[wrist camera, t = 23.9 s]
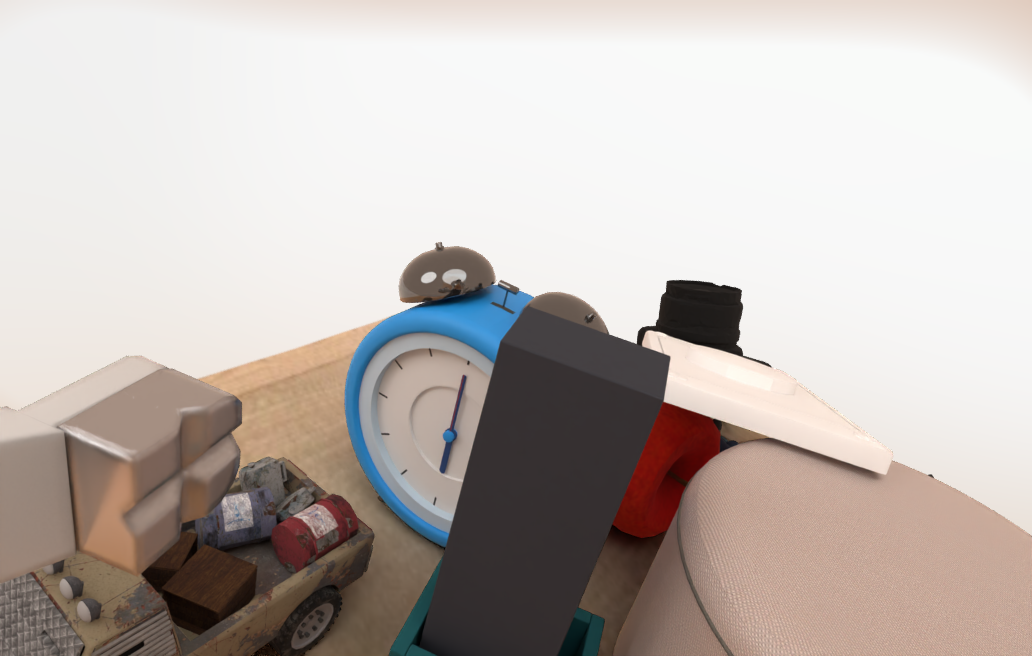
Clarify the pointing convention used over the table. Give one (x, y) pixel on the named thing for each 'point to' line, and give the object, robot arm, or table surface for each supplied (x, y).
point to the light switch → (762, 402)
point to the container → (830, 565)
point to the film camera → (700, 315)
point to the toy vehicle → (204, 581)
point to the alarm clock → (435, 380)
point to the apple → (666, 469)
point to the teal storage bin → (574, 651)
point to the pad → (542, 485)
